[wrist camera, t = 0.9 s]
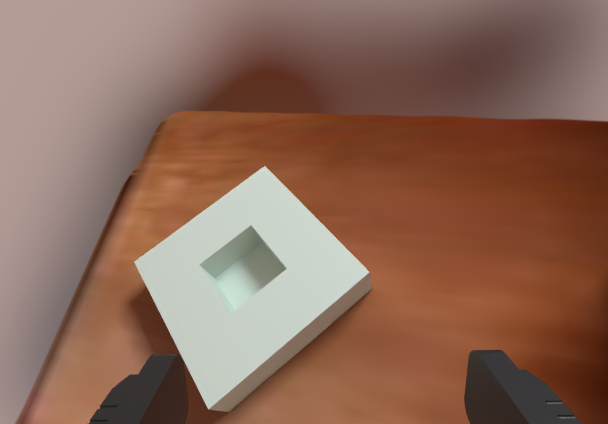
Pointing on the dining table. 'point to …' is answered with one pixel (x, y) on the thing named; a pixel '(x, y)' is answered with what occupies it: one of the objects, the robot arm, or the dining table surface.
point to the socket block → (249, 287)
